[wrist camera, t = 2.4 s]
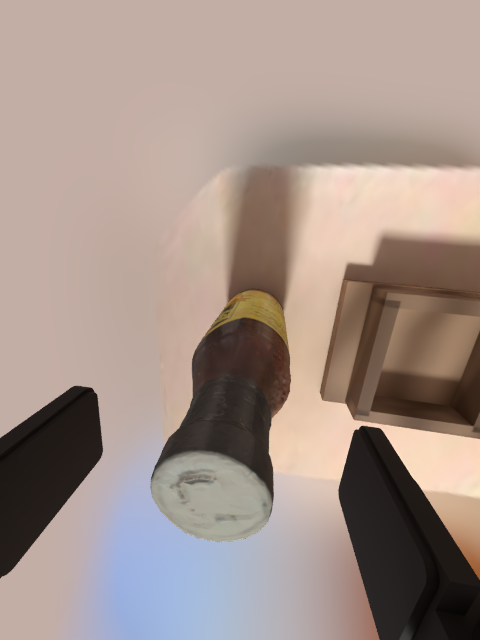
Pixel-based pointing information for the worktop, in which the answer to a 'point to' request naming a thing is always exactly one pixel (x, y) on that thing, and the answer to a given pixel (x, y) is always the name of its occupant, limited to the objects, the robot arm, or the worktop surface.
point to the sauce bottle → (228, 425)
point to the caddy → (407, 357)
